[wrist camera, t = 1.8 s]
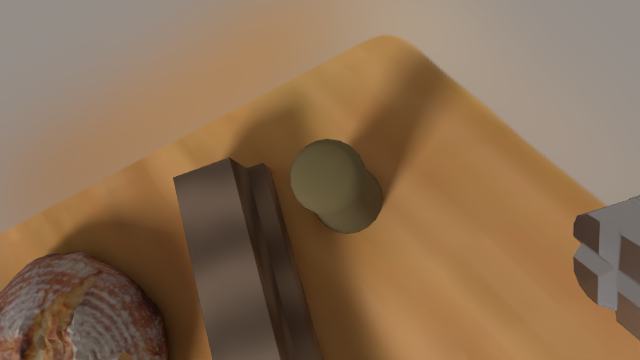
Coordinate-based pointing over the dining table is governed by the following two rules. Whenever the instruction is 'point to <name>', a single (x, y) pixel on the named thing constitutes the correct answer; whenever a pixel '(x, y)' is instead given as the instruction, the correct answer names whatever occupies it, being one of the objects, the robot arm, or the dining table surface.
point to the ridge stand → (244, 264)
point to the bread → (77, 313)
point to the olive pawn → (336, 186)
